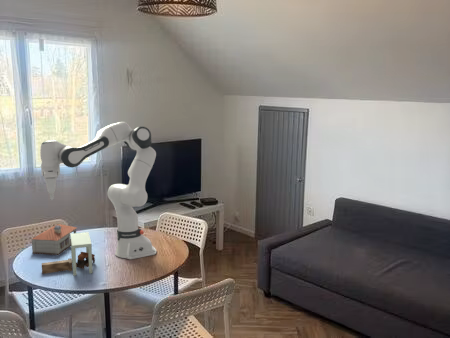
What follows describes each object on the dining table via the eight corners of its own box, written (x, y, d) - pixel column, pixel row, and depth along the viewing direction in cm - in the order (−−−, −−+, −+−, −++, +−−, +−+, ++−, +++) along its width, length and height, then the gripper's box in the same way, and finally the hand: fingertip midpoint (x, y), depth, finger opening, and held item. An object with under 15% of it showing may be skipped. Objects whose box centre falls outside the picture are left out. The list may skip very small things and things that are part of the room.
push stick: (71, 266, 218) (71, 258, 217) (72, 270, 213) (72, 262, 212) (42, 270, 213) (41, 262, 212) (42, 275, 207) (41, 266, 206)
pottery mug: (71, 266, 218) (75, 250, 221) (87, 270, 224) (91, 254, 227) (81, 268, 210) (86, 251, 212) (98, 272, 216) (103, 256, 218)
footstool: (89, 259, 227) (88, 232, 225) (92, 273, 210) (91, 243, 207) (71, 261, 224) (70, 233, 221) (73, 276, 207) (72, 245, 204)
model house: (59, 256, 233) (57, 229, 230) (32, 254, 234) (30, 228, 232) (78, 241, 256) (77, 217, 253) (54, 240, 257) (52, 216, 255)
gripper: (44, 168, 227) (45, 193, 229) (43, 175, 208) (45, 202, 210) (57, 168, 229) (58, 193, 231) (57, 174, 210) (58, 201, 213)
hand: (52, 197), depth 221 cm, fingers open, 8 cm apart
